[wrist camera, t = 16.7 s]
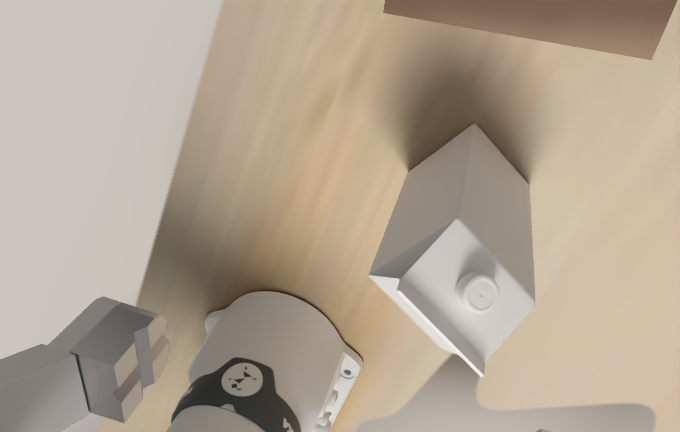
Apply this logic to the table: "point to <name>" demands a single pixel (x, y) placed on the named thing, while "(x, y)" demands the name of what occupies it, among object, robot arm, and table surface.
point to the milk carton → (461, 248)
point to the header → (554, 20)
